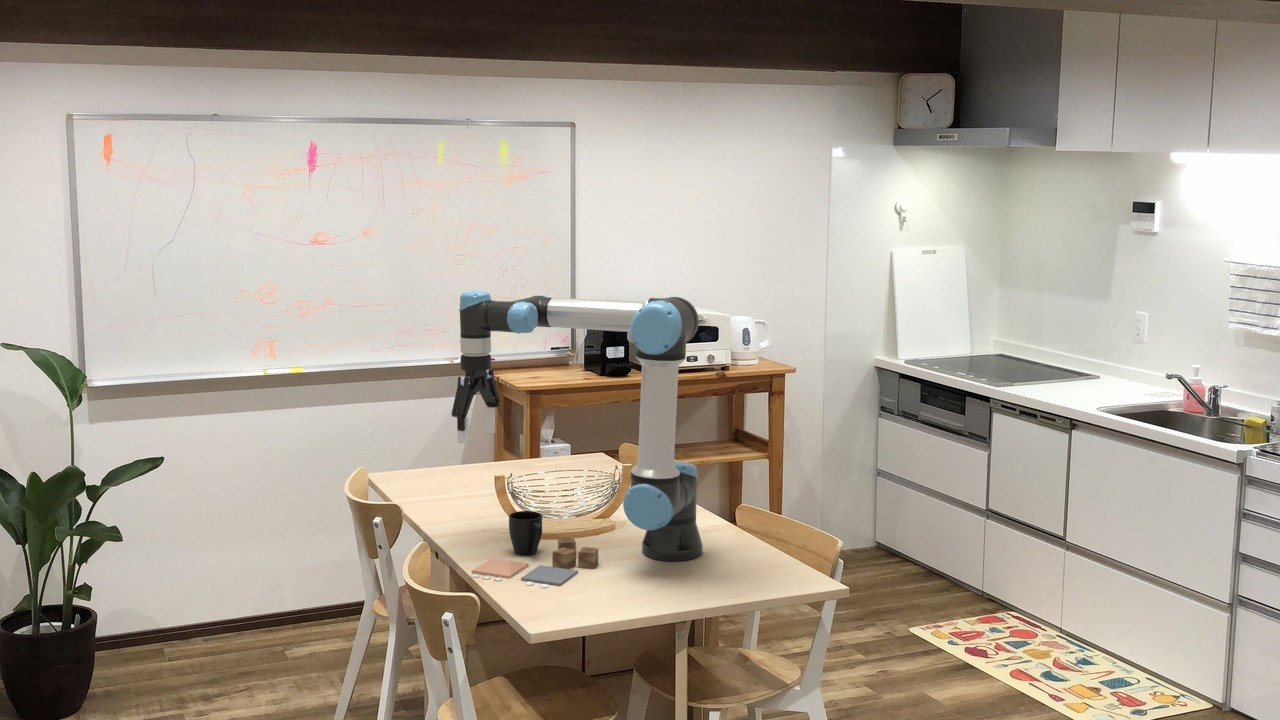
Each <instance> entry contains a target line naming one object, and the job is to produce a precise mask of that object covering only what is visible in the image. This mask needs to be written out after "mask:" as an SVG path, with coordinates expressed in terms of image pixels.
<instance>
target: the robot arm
mask: <svg viewBox="0 0 1280 720" xmlns="http://www.w3.org/2000/svg"><path fill="white" fill-rule="evenodd" d="M458 310H459V325H460V326H459V327H460V328H459V329H460V330H459V331H460V340H459V343H460V353H461V355H460V369H461V370H462V371H464V372H465V375H464V376H458V378H457V387H456V392H455V397H454V401H453V406H452V409H451V410H452V411H451V417H453V418H456V419H457V420H456V423H457V425H456V426H457V427H456V428H457V430H456V432H457V444H464V445H466V444H467V445H469V444H470V438H469V436H470V435H469V434H470V433H469V431H470V430H469V428H470V427H469V426H470V425H469V424H470V423H469V422H470V421H469V417H468V416H467V415H468V412H469V410H470V407H471V404H472V402H473V399H474V397H475V396H476V394H477V393H478V392H479V394H480V395H481V398H482V400H483V402H484V404H485V406H484V407H483V411H484V412H483V413H484V416H483V417H484V418H483V419H484V423H483V424H484V433H490V434H495V433H496V408H499V406H500V402H501V399H500V395H499V392H498V388H497V385H496V381H495V375H494V370H493V369H492V356H491V354H490V353H491V352H492V343H491V342H492V341H491V339H492V338H491V334H492V332H502V333H516V334H517V335H518V334H519V335H520V334H530V333H532V332H534V331H535V329H536V328H560V329H561V328H562V329H563V328H564V329H576V330H577V329H578V330H593V331H594V330H596V331H609V332H628V333H630V337H631V340H632V343H634V345H635V359H637V360H638V362H640V364H641V378H640V379H641V381H640V382H641V383H640V400H639V401H640V405H639V406H640V408H639V426H638V427H639V429H638V432H639V433H638V449H637V451H638V452H637V454H638V455H637V463H636V464H635V466H633V467H632V468H630V469H631V470H630V485H629V486H630V487H629V488H628V490H626V492H625V495H624V497H623V501H622V506H623V511H624V514H625V516H626V518H627V519H628V520H629V521H630V522H631V523H632V525H634V526H635V527H637V528H639V529H640V530H645V534H644V537H643V540H642V542H641V553H642V554H643V555H644V556H646V557H647V558H650V559H654V560H657V561H667V562H668V561H669V562H681V561H684V562H685V561H689V560H694V559H697V558H700V556H702V555H703V541H702V538H701V535H700V532H699V528H698V524H697V495H698V494H697V492H698V478H699V477H698V470H697V467H696V465H695V464H693V463H690V462H686V461H678V460H675V449H676V448H675V445H676V428H677V405H678V385H679V384H678V383H679V381H678V380H679V368H680V367H679V366H680V365H682V363H683V362H685V360H686V357H687V355H686V354H687V352H686V351H687V342H689V341H690V340H692V339H693V337H694V336H695V335H696V334H697V331H698V328H699V323H700V322H699V315H698V311H697V309H696V308H695V306H694V305H693V304H692V302H690V301H689V300H687V299H685V298H683V297H678V296H671V297H662V298H660V297H657V298H655V297H650V298H648V299H647V300H646V301H633V300H632V301H631V300H613V299H590V298H569V297H549V296H546V295H539V294H538V295H532V296H530V297H526V298H521V299H516V300H512V301H511V300H508V301H503V300H502V301H500V300H498V301H497V300H494V299H493V300H492V298H491V294H490V292H488V291H481V290H473V291H465V292H463V293H461V294H460V298H459V309H458Z"/></svg>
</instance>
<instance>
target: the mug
mask: <svg viewBox="0 0 1280 720" xmlns="http://www.w3.org/2000/svg"><path fill="white" fill-rule="evenodd" d="M508 531H509V537H510V542H511V544H512V548H513V552H514V554H515V555H518V556H532V555H535V554H536V553H537V552H538V548H539V545H540V543H541V538H542V534H543V515H542V513H541V512H539V511H533V510H532V511H531V510H521V511H514V512H511V513H510V514H509V515H508Z"/></svg>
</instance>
